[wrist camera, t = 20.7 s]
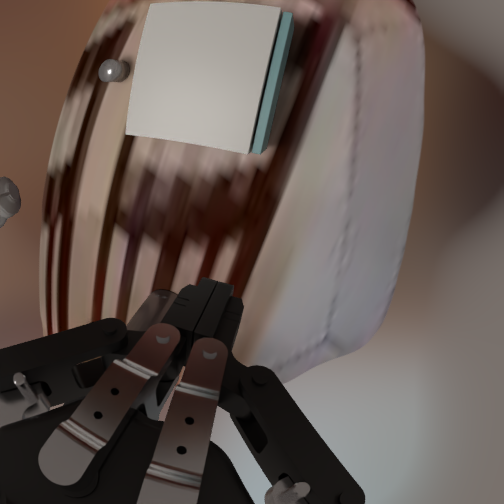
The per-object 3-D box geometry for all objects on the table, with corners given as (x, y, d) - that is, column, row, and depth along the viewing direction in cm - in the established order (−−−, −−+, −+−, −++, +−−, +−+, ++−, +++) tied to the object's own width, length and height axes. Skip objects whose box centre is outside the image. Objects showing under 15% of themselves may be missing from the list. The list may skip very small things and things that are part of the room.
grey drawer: (266, 148, 36) (260, 154, 31) (161, 129, 37) (139, 133, 32) (294, 27, 28) (292, 13, 23) (183, 17, 29) (165, 5, 23)
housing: (258, 146, 38) (247, 154, 31) (154, 128, 38) (125, 134, 31) (285, 27, 29) (280, 7, 22) (176, 18, 30) (150, 3, 23)
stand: (127, 82, 35) (115, 81, 32) (110, 82, 36) (97, 81, 33) (131, 61, 34) (119, 58, 31) (113, 61, 34) (100, 60, 31)
